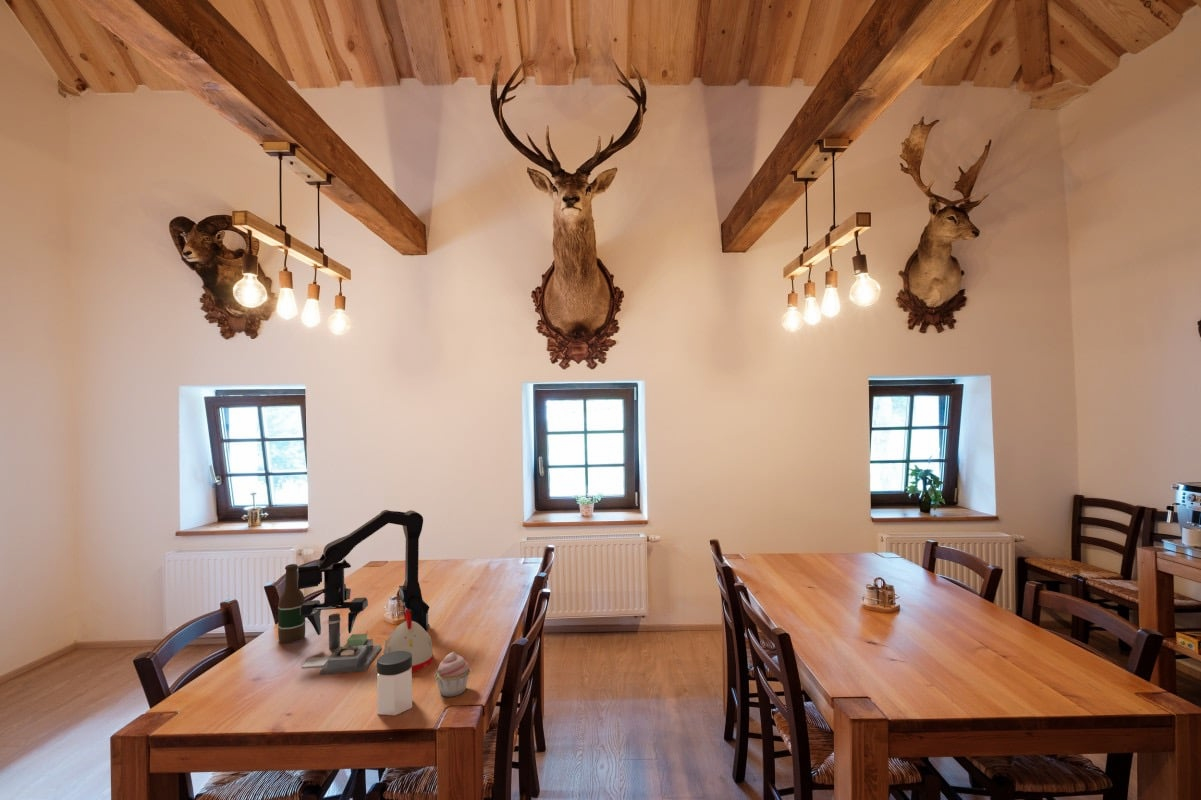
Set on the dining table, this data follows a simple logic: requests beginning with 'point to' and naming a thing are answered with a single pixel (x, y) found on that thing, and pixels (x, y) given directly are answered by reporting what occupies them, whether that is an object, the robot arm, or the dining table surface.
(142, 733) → the dining table surface
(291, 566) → the beer bottle
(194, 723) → the dining table surface
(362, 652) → the grey flat framed piece
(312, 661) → the pad
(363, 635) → the on button
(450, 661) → the cupcake
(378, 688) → the jar
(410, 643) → the kitchen timer
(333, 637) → the gray capped cylinder
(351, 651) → the button
